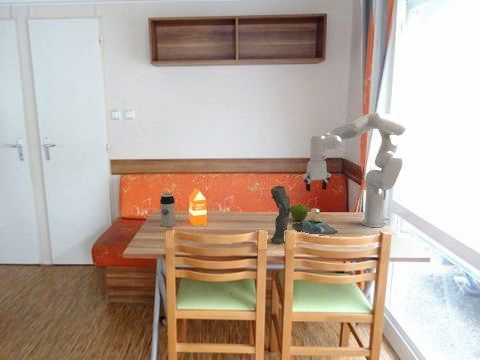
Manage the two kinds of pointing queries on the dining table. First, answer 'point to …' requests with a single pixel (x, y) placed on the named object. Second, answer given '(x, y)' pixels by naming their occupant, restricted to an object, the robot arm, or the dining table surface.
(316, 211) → the coupler
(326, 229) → the shaft mount
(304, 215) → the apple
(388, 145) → the robot arm
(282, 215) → the mechanical leg
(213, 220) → the dining table surface
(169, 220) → the travel mug
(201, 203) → the orange juice
